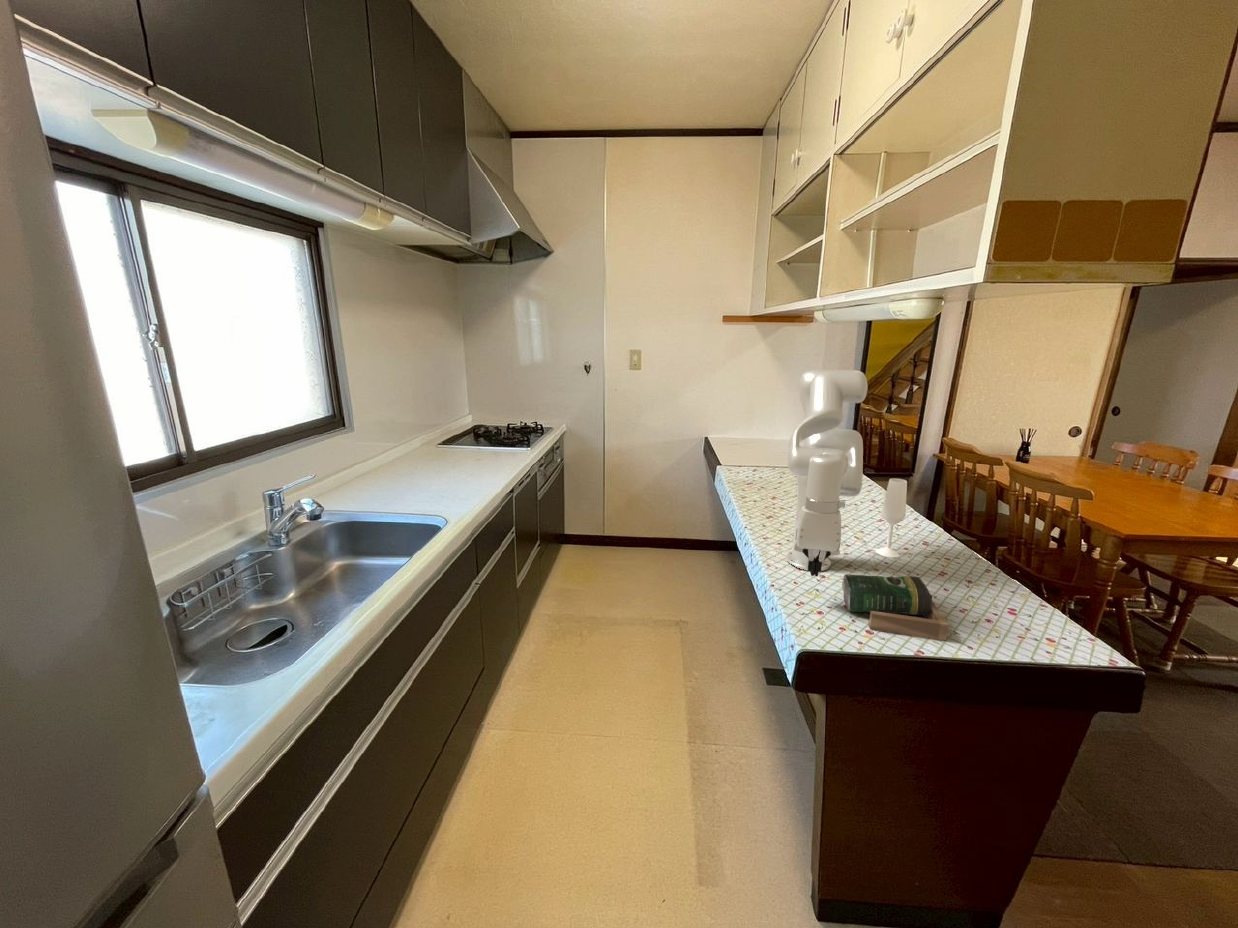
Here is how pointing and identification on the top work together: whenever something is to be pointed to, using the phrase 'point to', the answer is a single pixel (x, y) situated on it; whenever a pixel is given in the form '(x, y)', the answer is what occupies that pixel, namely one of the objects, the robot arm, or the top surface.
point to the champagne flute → (893, 511)
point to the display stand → (911, 624)
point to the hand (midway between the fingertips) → (813, 573)
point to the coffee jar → (886, 594)
